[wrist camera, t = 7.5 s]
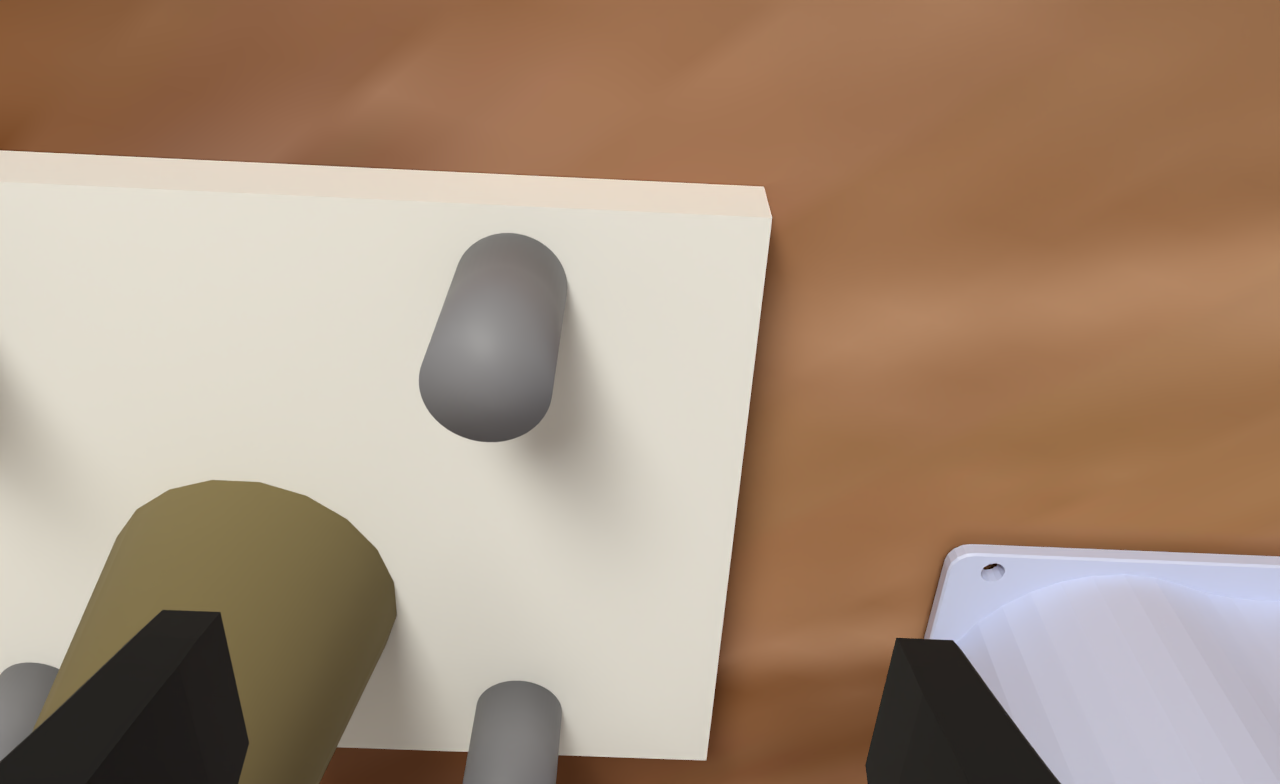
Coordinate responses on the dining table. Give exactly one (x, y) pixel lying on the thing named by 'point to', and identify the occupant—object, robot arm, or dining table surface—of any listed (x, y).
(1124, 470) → the dining table surface
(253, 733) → the olive rounded cylinder
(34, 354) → the peg board
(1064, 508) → the dining table surface
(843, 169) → the dining table surface
